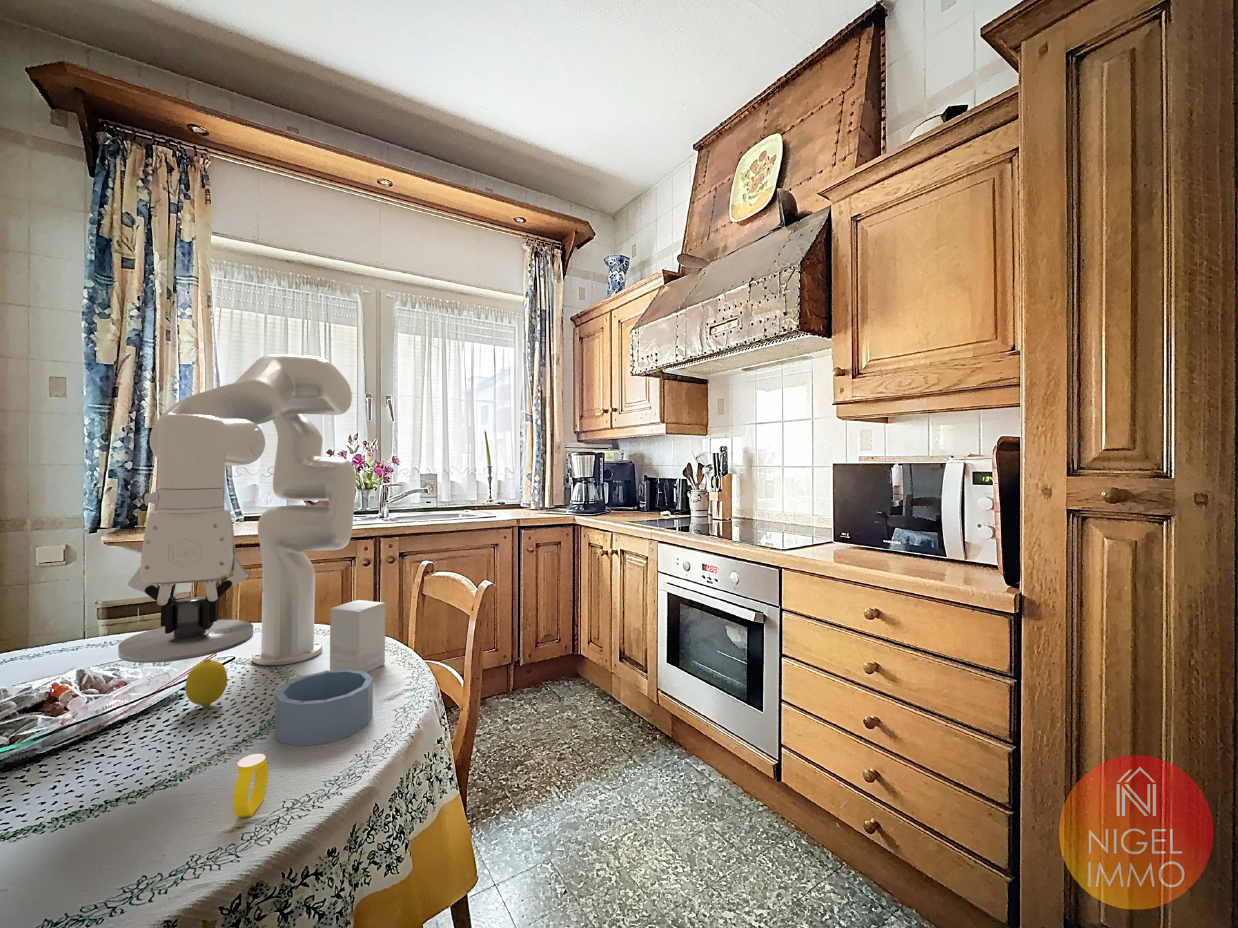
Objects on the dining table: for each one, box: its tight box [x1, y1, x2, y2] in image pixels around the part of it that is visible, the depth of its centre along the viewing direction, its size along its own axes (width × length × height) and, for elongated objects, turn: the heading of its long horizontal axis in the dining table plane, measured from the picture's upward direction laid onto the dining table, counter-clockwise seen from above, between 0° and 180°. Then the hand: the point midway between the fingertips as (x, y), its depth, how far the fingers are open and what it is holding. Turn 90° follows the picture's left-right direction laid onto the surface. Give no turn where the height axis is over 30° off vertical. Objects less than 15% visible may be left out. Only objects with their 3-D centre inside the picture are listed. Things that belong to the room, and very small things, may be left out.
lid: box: [117, 596, 254, 664], centre depth 77 cm, size 15×15×6 cm
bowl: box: [274, 669, 374, 747], centre depth 84 cm, size 13×13×6 cm
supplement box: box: [329, 599, 386, 673], centre depth 108 cm, size 7×7×13 cm
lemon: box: [185, 658, 228, 708], centre depth 90 cm, size 6×6×8 cm
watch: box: [233, 753, 269, 818], centre depth 64 cm, size 6×3×6 cm, turn 13°
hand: (190, 627), depth 77 cm, fingers closed on lid, 3 cm apart
